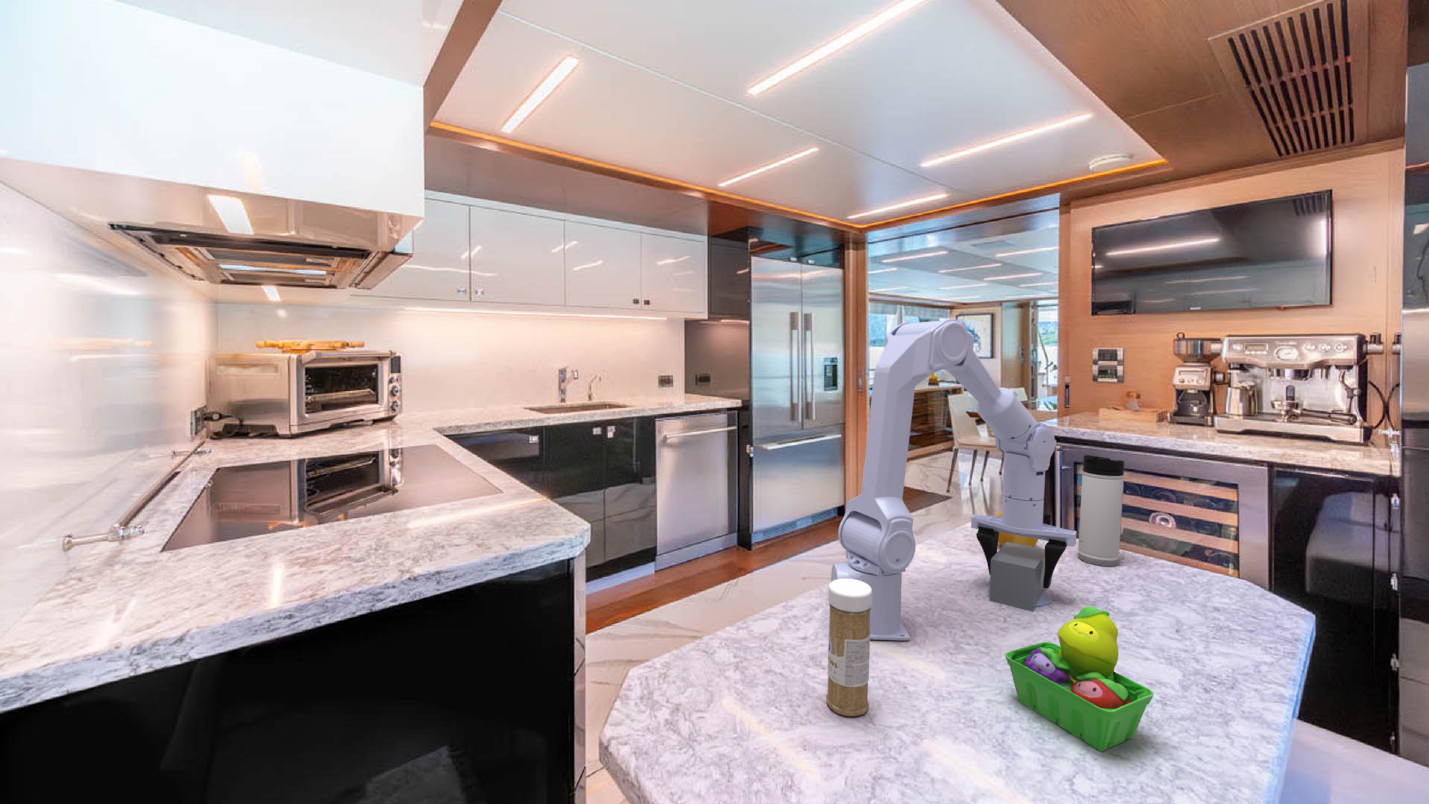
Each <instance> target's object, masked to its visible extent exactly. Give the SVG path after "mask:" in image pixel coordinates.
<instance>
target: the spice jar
mask: <svg viewBox="0 0 1429 804" xmlns="http://www.w3.org/2000/svg"><path fill="white" fill-rule="evenodd" d="M827 590H828V591H827V592H828V593H827V599H828V600H827V601H828V604H829V627H828V629H829V631H828V652H827V653H828V655H827V657H828V658H827V675H828V676H827V694H826V703H827V706H828V707H829V708H830V710H832V711H833V712H835V713H836V714H840V715H841V716H847V717H857V716H862V715H863V714H866V712H868V709H869V706H870V704H869V699H868V695H869V693H868V691H869V678H870V654H871V653H870V650H871V649H870V648H871V639H870V610H871V606H872V589H871V587H870V586H869V585H868V584H866V583H864V582H862V581H859V580H855V579H837V580H834V581H832V582H831V581H830V583H829V584H828V589H827Z"/></svg>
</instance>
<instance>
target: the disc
mask: <svg viewBox="0 0 1429 804" xmlns="http://www.w3.org/2000/svg"><path fill="white" fill-rule="evenodd" d="M986 590H987V592H988V593H990V583H989V584H988V585H987V587H986ZM1051 602H1052V597H1051V595H1050V594H1049V593H1048V592H1046V591H1043V593H1042V595H1041V597H1040V599H1039V600H1038V602H1037V604H1036V607H1044V606H1047V605H1050V604H1051Z"/></svg>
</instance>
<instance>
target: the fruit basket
mask: <svg viewBox="0 0 1429 804" xmlns="http://www.w3.org/2000/svg"><path fill="white" fill-rule="evenodd" d="M1110 615H1111V614H1110V612H1108V611H1107V610H1104V609H1102V610H1101V609H1099V608H1098V607H1096V606H1092V605H1087V606H1085V607H1083V608H1082V609H1080V611H1079V612H1078V613H1077V614H1074V615H1073V619H1072V620H1069V621H1067V622H1065V623H1064V624H1063V625H1061V627H1059V629H1058V630H1057V637H1058V641H1059V644H1055V643H1053V642H1049V641H1042V642H1039V643H1035V644H1031V645H1027V646H1023V647H1020V648H1017V649H1012V650H1010V651H1008V652H1005V654H1004V657H1005V658H1006V662H1007V664H1008V666H1009V668H1010V672H1011V676H1012V680H1013V685H1014V687H1015V692H1016V696H1017V700H1018V702H1020V703H1021V704H1023V705H1025V706H1026V707H1028V708H1030V709H1033V710H1034V711H1036V712H1037V713H1038V714H1039V715H1041V716H1043V717H1044V718H1046V719H1048V720H1049V721H1051V722H1053V723H1055V724H1057V725H1059V726H1060V727H1061V728H1063V730H1066V731H1067V732H1068V733H1071V734H1072V735H1073V736H1075V737H1078V738H1080V739H1082V740H1083V741H1084V742H1085V743H1087V744H1088V745H1089V746H1091V747H1093V748H1095V749H1096V750H1097V751H1099V752H1104V751H1106V749H1107V748H1112V747H1115V746H1117V745H1119V744H1121V743H1123V742H1125V740H1129V739H1133V737H1134V736H1135V734H1136V731H1137V729H1138V727H1139V724H1140V722H1141V719H1142V717H1143V714H1144V713H1145V710H1146V708H1147V705H1150V703H1151V701H1152V698H1153V697H1154V691H1152V690H1151V689H1150V688H1149V687H1147V686H1144V685H1142V684H1140V683H1137V681H1136V682H1135V681H1134V680H1132V679H1130V678H1128V677H1127V676H1124V675H1122V674H1120V673H1118V672H1116V671H1115V669H1116V666H1117V663H1118V660H1119V647H1118V635H1119V629H1118V627H1117V626H1116V624H1115V623H1114V621H1113V620H1112V619H1111V618H1110V617H1109V616H1110Z"/></svg>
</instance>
